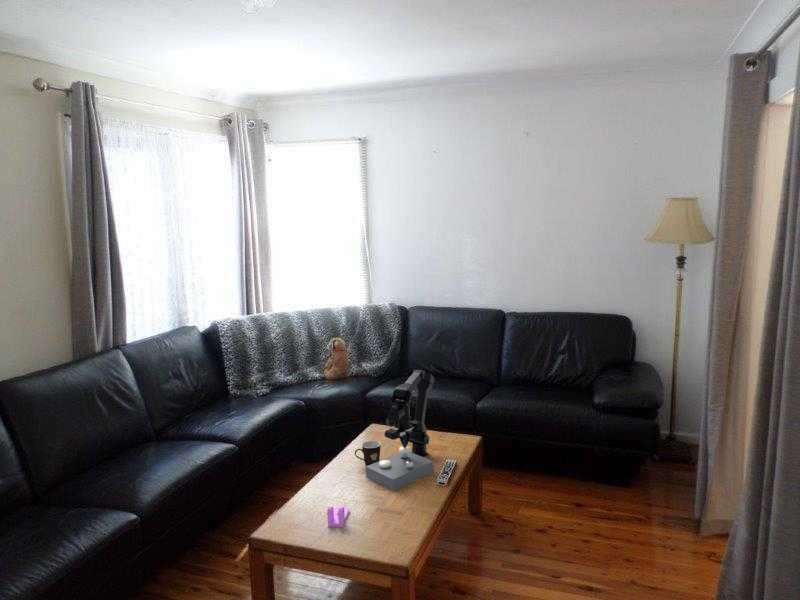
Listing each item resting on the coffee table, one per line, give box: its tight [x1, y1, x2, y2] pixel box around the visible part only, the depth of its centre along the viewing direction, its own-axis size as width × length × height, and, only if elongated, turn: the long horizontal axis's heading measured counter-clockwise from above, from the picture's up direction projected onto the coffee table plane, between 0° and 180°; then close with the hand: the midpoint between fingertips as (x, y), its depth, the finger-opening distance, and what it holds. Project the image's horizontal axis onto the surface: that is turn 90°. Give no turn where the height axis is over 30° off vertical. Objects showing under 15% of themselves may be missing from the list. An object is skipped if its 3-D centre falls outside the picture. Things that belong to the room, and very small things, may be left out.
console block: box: [365, 451, 434, 492], centre depth 259 cm, size 24×18×5 cm
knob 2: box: [398, 445, 411, 458], centre depth 264 cm, size 5×5×4 cm
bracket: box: [326, 505, 350, 528], centre depth 224 cm, size 13×6×7 cm, turn 172°
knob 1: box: [379, 459, 391, 469], centre depth 257 cm, size 5×5×4 cm
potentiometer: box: [406, 458, 413, 470], centre depth 253 cm, size 3×3×5 cm
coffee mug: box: [354, 440, 382, 467], centre depth 270 cm, size 12×9×10 cm
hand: (404, 447), depth 264 cm, fingers closed
